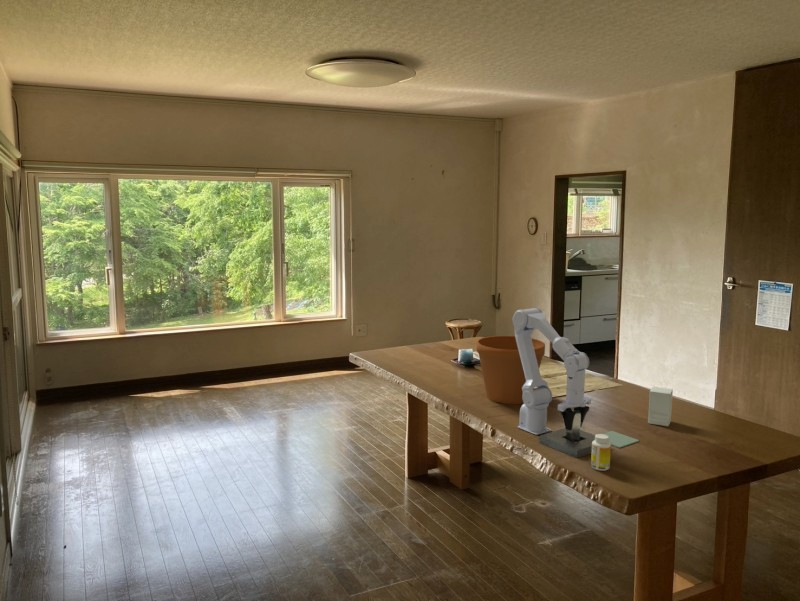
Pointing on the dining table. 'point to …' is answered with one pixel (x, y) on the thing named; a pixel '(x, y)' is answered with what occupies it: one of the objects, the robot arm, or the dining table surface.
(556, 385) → the dining table surface
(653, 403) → the supplement box
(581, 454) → the socket block
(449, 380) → the dining table surface
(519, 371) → the flowerpot
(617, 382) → the dining table surface
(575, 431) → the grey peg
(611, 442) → the mat
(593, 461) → the supplement bottle
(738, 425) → the dining table surface
